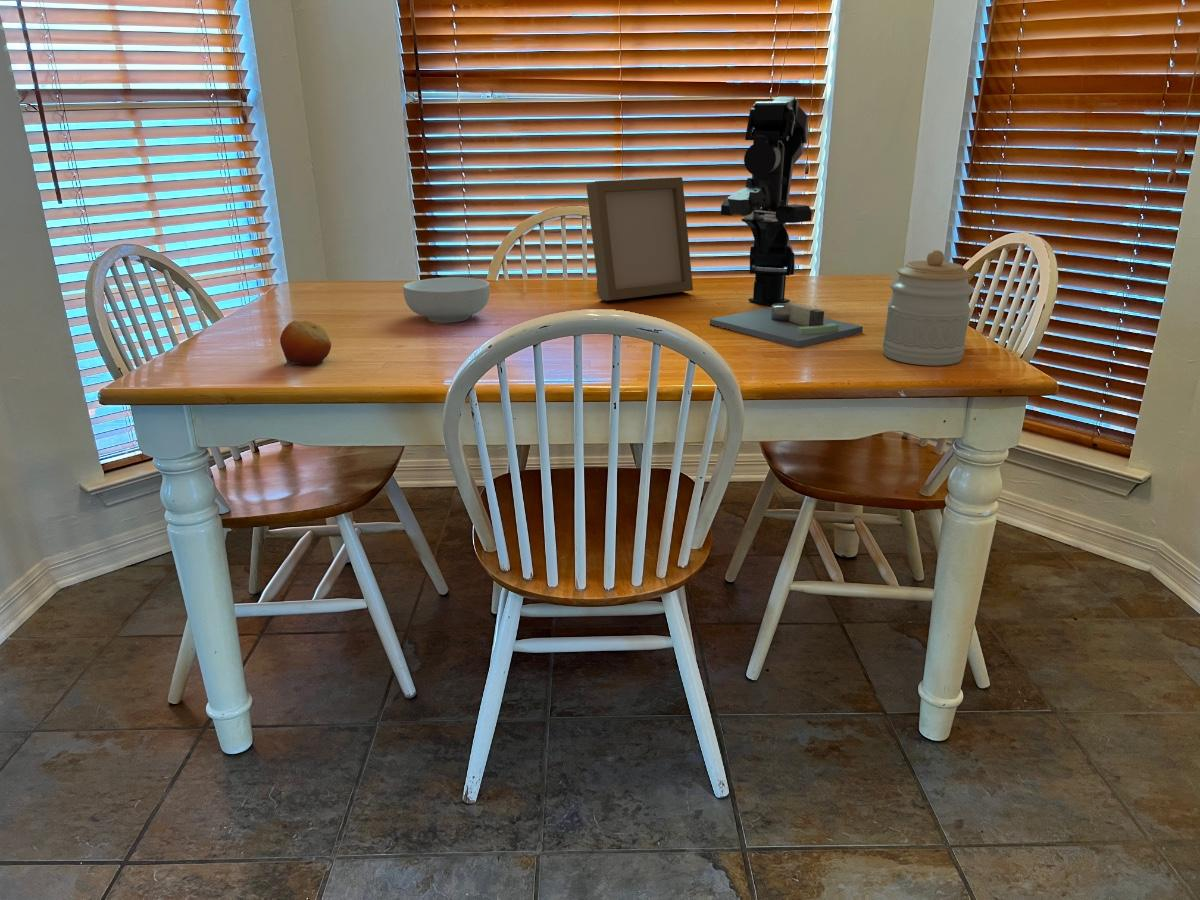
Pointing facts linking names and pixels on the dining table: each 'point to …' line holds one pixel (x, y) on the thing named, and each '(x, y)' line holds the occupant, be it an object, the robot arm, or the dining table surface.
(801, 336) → the board
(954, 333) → the jar
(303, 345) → the fruit
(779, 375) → the dining table surface
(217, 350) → the dining table surface
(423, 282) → the cereal bowl
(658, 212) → the photo frame
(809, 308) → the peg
